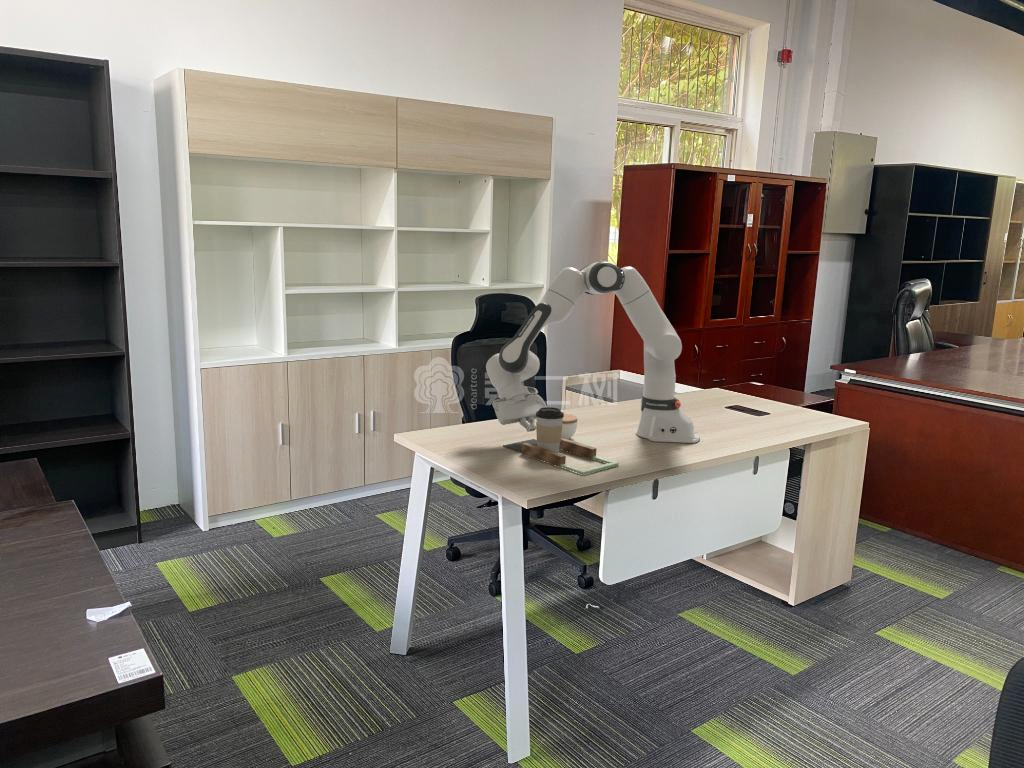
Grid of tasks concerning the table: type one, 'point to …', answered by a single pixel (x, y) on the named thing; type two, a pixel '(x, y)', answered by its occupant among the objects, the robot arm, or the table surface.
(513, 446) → the mat
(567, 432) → the lidded jar
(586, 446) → the channel
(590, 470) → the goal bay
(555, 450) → the coffee cup
